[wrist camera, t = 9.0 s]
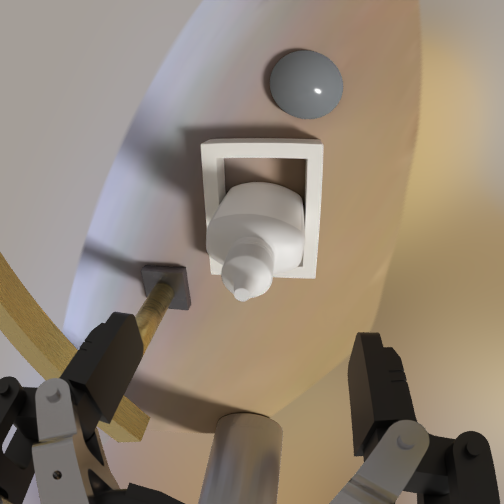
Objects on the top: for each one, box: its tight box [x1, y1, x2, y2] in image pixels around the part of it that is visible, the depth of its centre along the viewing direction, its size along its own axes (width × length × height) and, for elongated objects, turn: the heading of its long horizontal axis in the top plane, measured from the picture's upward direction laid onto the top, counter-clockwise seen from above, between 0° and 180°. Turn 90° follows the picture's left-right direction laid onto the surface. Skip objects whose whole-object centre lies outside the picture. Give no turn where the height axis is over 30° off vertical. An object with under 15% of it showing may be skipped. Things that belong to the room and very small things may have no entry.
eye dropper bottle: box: [206, 182, 305, 301], centre depth 19 cm, size 4×6×12 cm
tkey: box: [0, 253, 174, 442], centre depth 20 cm, size 18×2×14 cm, turn 31°
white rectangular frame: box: [201, 138, 323, 279], centre depth 23 cm, size 10×8×2 cm
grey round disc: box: [270, 50, 343, 119], centre depth 19 cm, size 5×5×1 cm
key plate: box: [141, 265, 191, 310], centre depth 28 cm, size 4×4×1 cm
